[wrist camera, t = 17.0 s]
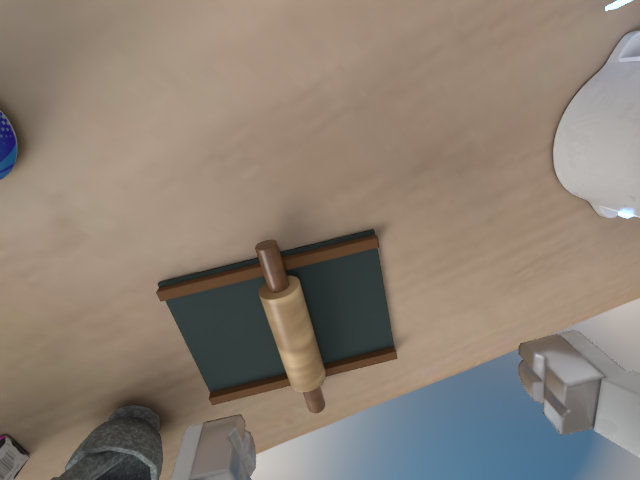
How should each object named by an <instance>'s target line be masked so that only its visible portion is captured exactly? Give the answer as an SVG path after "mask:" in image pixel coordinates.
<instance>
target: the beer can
mask: <svg viewBox="0 0 640 480" xmlns="http://www.w3.org/2000/svg"><path fill="white" fill-rule="evenodd" d="M16 159H17V137H16V134H15V131H14V128H13V126H12V125H11V123H10V121H9V120H8V118H7V117H6V116H5V115H4V113H3V112H2V111H1V110H0V180H1V179H2V178H4V177H5V176H6V175H7V174H8V173H9V172H10V171H11V170H12V168H13V167H14V164H15V162H16Z"/></svg>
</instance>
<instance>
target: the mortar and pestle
mask: <svg viewBox="0 0 640 480" xmlns="http://www.w3.org/2000/svg"><path fill="white" fill-rule="evenodd" d="M159 429H160V417H159V416H158V415H157V414H156V413H155V412H154V411H152V410H151V409H150V408H147V407H143V406H138V405H130V406H125V407H121V408H118V409H117V410H116V411H115V412H114V413H113V414H112V416H111V417H110V419H109V421H108V422H104V423H103V424H101V425H100V426H99V427H97V428H96V429H94V430H93V432H92V433H91V434H90V435H89V436H88V437H87V438H86V439H85V440H84V441H83V442H82V443H81V444H80V446H79V447H78V448H77V449H76V451H75V452H74V453H73V455H72V456H71V458H70V460H69V461H68V463H67V465H66V467H65V470H66V472H64V473H63V474H62V475H61V476H59V477H54V478H52V479H51V480H159V477H160V474H161V470H162V462H163V451H162V441H161V437H160V434H159V433H158V432H159Z"/></svg>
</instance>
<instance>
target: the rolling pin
mask: <svg viewBox="0 0 640 480" xmlns="http://www.w3.org/2000/svg"><path fill="white" fill-rule="evenodd" d="M255 250H256V253H257V256H258V259H259V262H260V265H261V268H262V271H263V274H264V277H265V280H266V283H265V284H263V285H262V287H261V288H260V290H259V296H260V299H261V302H262V305H263V307H264V310H265V313H266V316H267V319H268V322H269V325H270V328H271V330H272V333H273V336H274V339H275V342H276V345H277V348H278V350H279V353H280V356H281V359H282V362H283V365H284V368H285V371H286V373H287V376H288V379H289V382H290V385H291V387H292V388H293V389H294V390H296V391H299V392H303V394H304V397H305V400H306V403H307V406H308V409H309V411H310V412H312V413H319V412H321V411H322V410H323V409H324V407H325V401H324V397H323V394H322V391H321V387H320V385H321V384H322V383H323V381H324V379H325V375H326V373H325V369H324V365H323V362H322V358H321V355H320V351H319V348H318V344H317V341H316V337H315V333H314V330H313V326H312V323H311V319H310V316H309V312H308V309H307V305H306V302H305V298H304V295H303V291H302V288H301V284H300V281H299V279H298V278H297V277H294V276H289V275H287V274H286V271H285V267H284V264H283V261H282V257H281V254H280V251H279V247H278V244H277V241H275V240H266V241H263V242H261V243H259V244H257V245H256V247H255Z"/></svg>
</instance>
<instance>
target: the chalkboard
mask: <svg viewBox="0 0 640 480" xmlns="http://www.w3.org/2000/svg"><path fill="white" fill-rule="evenodd" d="M378 248H379V243H378V238H377V236H376V235H375V231H374V229H372V230H368V231H364V232H360V233H356V234H352V235H348V236H344V237H340V238H336V239H332V240H328V241H324V242H320V243H316V244H312V245H308V246H304V247H300V248H296V249H292V250H288V251H283V252H280V254H281V257H282V261H283V264H284V267H285V271H286V274H287V275H289V276H294V277H297V278H298V279H299V281H300V284H301V288H302V291H303V295H304V298H305V302H306V305H307V309H308V312H309V316H310V319H311V323H312V326H313V330H314V333H315V337H316V341H317V344H318V348H319V351H320V355H321V358H322V362H323V365H324V369H325V373H326V375H325V377H326V376H330V375H334V374H338V373H342V372H346V371H350V370H354V369H358V368H362V367H366V366H370V365H374V364H378V363H382V362H386V361H390V360H393V359H397V353H396V350H395V348H394V344H393V338H392V332H391V326H390V320H389V314H388V308H387V302H386V296H385V290H384V284H383V278H382V272H381V266H380V260H379V254H378ZM265 283H266V280H265V277H264V274H263V271H262V268H261V265H260V262H259V259H258V258H255V259H251V260H247V261H243V262H239V263H235V264H231V265H227V266H223V267H219V268H215V269H211V270H207V271H203V272H199V273H195V274H190V275H186V276H182V277H178V278H174V279H170V280H166V281H162V282H159V283H158V286H159V289H158V290H157V292H156V293H157V295H158V297H159V299H160V301H166V303H167V305H168V307H169V309H170V311H171V313H172V315H173V317H174V319H175V321H176V323H177V325H178V327H179V329H180V331H181V333H182V336H183V338H184V340H185V342H186V344H187V346H188V348H189V350H190V352H191V354H192V356H193V358H194V360H195V362H196V364H197V366H198V368H199V370H200V372H201V374H202V376H203V379H204V381H205V383H206V385H207V387H208V389H209V391H210V396H209V400H210V402H211V404H212V405H215V404H219V403H223V402H227V401H231V400H235V399H239V398H243V397H247V396H251V395H255V394H259V393H263V392H267V391H271V390H275V389H279V388H283V387H287V386H291V385H290V382H289V379H288V376H287V373H286V371H285V368H284V365H283V362H282V359H281V356H280V353H279V350H278V348H277V345H276V342H275V339H274V336H273V333H272V330H271V328H270V325H269V322H268V319H267V316H266V313H265V310H264V307H263V305H262V302H261V299H260V296H259V290H260V288H261V287H262V285H263V284H265Z"/></svg>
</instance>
